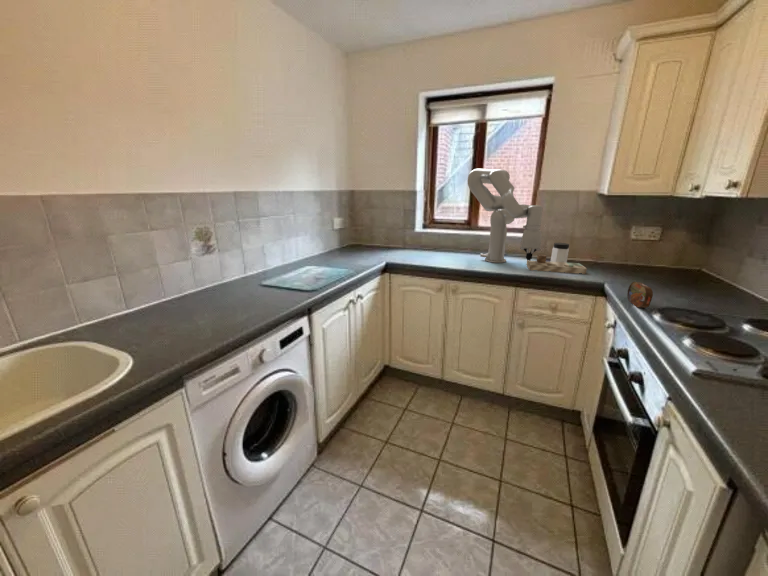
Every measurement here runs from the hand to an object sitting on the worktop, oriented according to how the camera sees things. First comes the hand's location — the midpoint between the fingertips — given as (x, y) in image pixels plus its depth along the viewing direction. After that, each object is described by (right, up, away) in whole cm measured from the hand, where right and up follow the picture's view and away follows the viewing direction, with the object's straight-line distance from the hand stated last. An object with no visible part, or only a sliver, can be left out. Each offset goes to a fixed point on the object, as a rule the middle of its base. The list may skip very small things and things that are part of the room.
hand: (528, 259), depth 190 cm
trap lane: (+13, -6, -5) cm, 15 cm away
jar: (+23, -1, +11) cm, 25 cm away
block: (+7, -1, -1) cm, 7 cm away
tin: (+16, -23, -60) cm, 67 cm away
